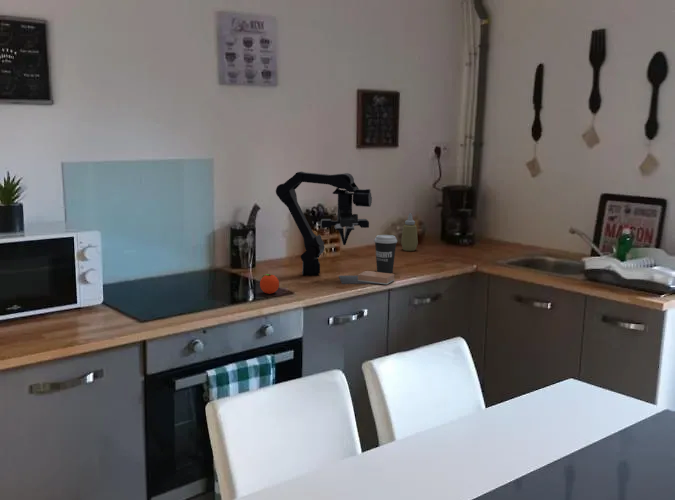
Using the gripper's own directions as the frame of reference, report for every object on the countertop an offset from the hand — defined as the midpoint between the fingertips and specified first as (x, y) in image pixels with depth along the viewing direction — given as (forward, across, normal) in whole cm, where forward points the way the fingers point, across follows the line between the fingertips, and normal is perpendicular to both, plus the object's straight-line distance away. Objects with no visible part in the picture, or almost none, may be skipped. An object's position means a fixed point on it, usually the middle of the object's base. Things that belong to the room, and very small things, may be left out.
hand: (344, 244), depth 278 cm
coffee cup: (+13, +18, +8) cm, 24 cm away
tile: (+11, +12, -9) cm, 19 cm away
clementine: (+13, -30, -25) cm, 41 cm away
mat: (+13, +5, -6) cm, 15 cm away
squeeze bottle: (+13, +38, +56) cm, 69 cm away
